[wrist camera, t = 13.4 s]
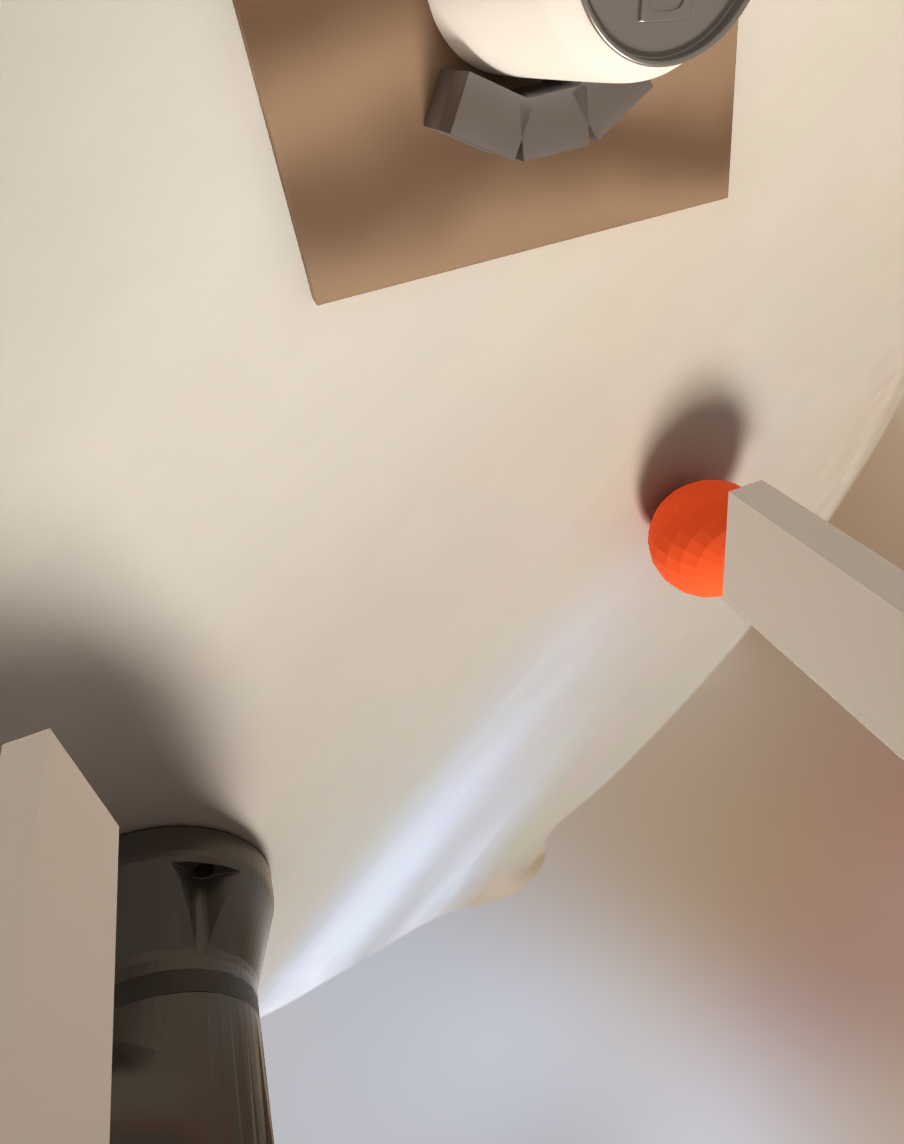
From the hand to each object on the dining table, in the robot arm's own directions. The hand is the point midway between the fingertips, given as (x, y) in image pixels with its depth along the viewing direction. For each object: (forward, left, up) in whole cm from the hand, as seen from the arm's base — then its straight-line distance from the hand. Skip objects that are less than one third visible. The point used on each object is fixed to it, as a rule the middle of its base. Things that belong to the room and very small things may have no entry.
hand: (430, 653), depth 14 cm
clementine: (-18, -21, -24) cm, 37 cm away
